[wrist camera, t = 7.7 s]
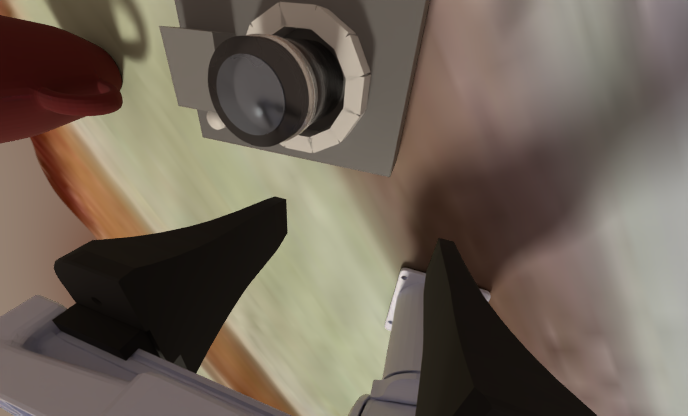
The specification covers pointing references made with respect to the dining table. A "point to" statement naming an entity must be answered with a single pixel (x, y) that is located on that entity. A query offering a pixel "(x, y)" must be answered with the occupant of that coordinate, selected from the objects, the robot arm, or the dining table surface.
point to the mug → (51, 79)
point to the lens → (272, 86)
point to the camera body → (347, 46)
